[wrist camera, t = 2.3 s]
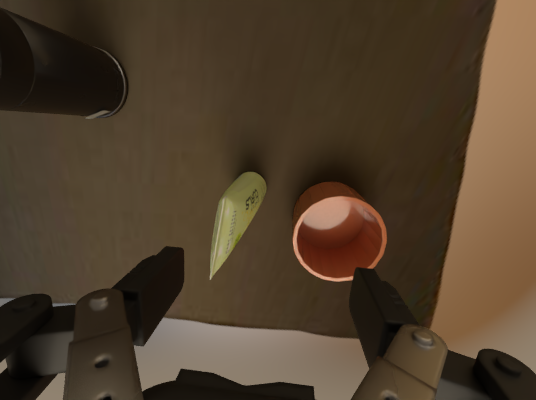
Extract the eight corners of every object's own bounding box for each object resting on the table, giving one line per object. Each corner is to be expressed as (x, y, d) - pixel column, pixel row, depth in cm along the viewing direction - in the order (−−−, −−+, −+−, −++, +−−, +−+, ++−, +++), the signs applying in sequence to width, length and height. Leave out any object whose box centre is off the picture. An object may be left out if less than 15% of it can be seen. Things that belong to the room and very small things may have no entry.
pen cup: (287, 243, 42) (286, 273, 33) (299, 176, 39) (301, 189, 30) (356, 255, 41) (373, 288, 33) (373, 187, 39) (397, 204, 30)
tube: (275, 197, 40) (260, 257, 21) (246, 212, 41) (209, 281, 22) (256, 164, 39) (224, 197, 20) (228, 180, 40) (172, 226, 21)
